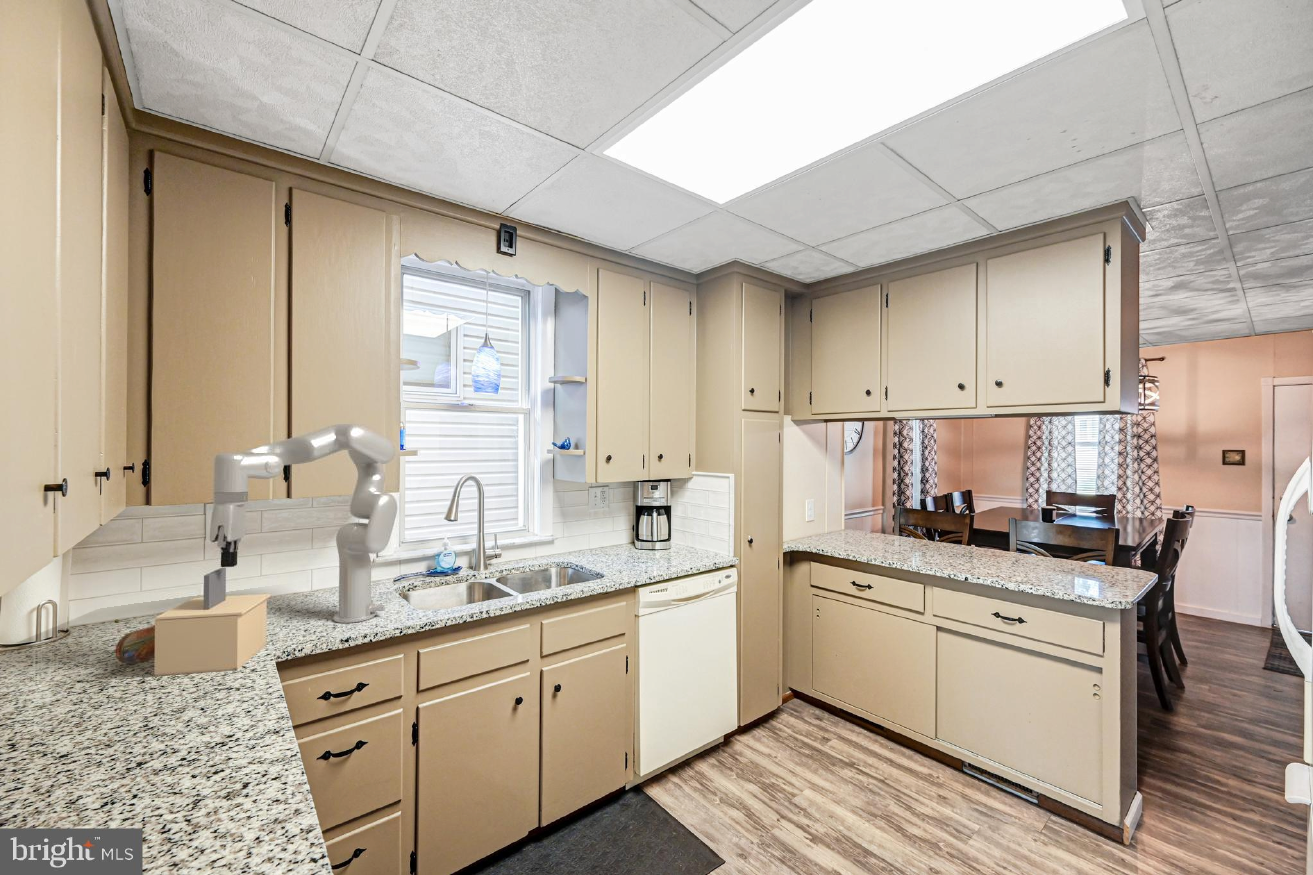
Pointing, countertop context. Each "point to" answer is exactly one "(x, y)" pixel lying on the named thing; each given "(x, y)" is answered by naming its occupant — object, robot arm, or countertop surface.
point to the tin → (137, 646)
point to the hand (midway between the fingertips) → (228, 566)
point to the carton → (209, 642)
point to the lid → (214, 600)
